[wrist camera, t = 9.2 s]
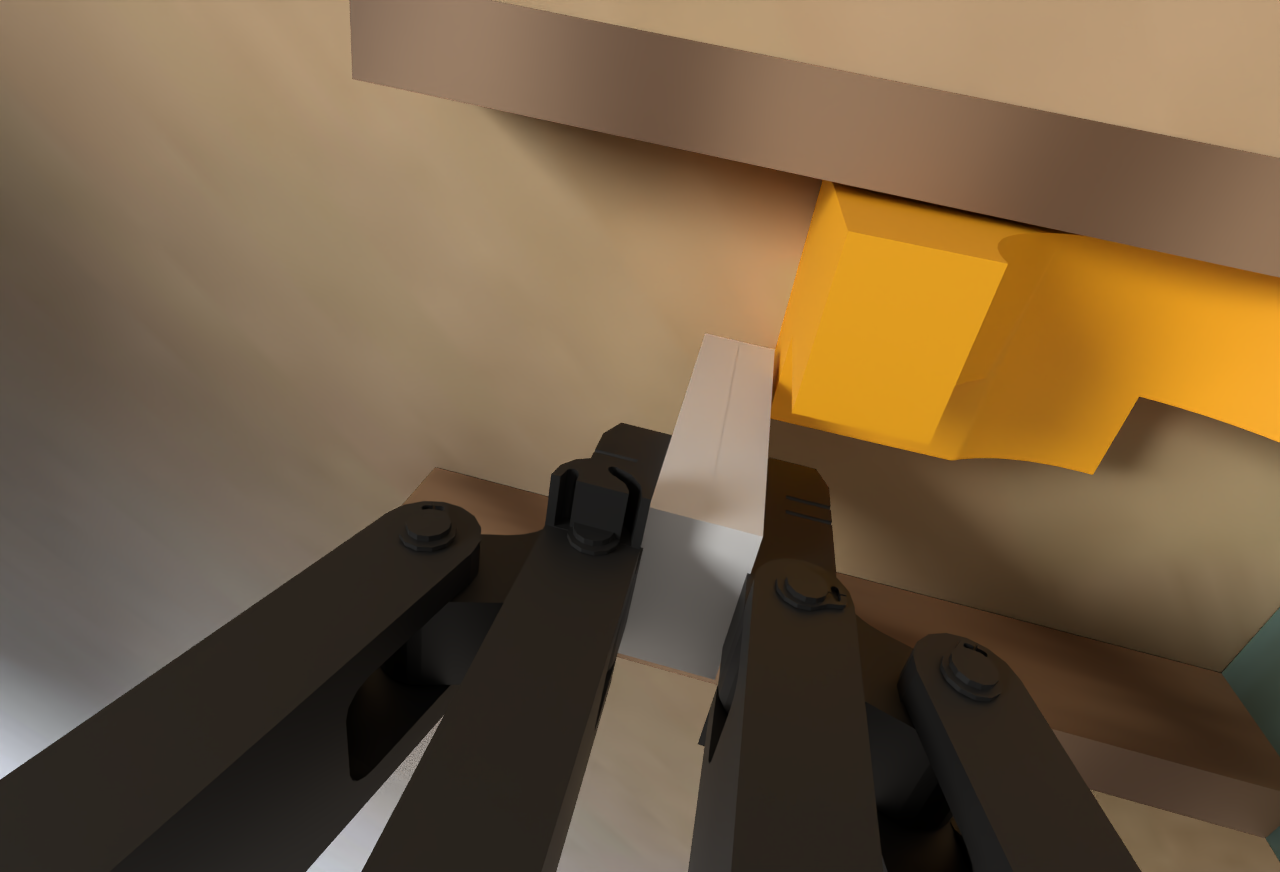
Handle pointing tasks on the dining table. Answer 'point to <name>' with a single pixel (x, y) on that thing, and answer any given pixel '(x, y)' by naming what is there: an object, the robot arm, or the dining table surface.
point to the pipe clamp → (1011, 334)
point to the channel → (941, 174)
